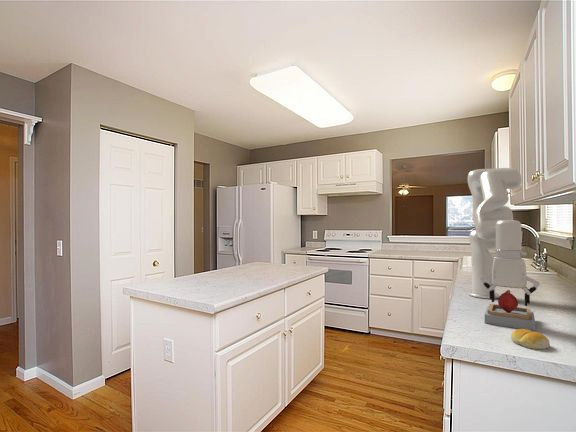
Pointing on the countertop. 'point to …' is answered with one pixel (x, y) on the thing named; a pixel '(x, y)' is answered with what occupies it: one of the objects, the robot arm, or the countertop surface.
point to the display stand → (510, 317)
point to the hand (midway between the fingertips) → (509, 303)
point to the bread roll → (530, 339)
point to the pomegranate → (508, 301)
